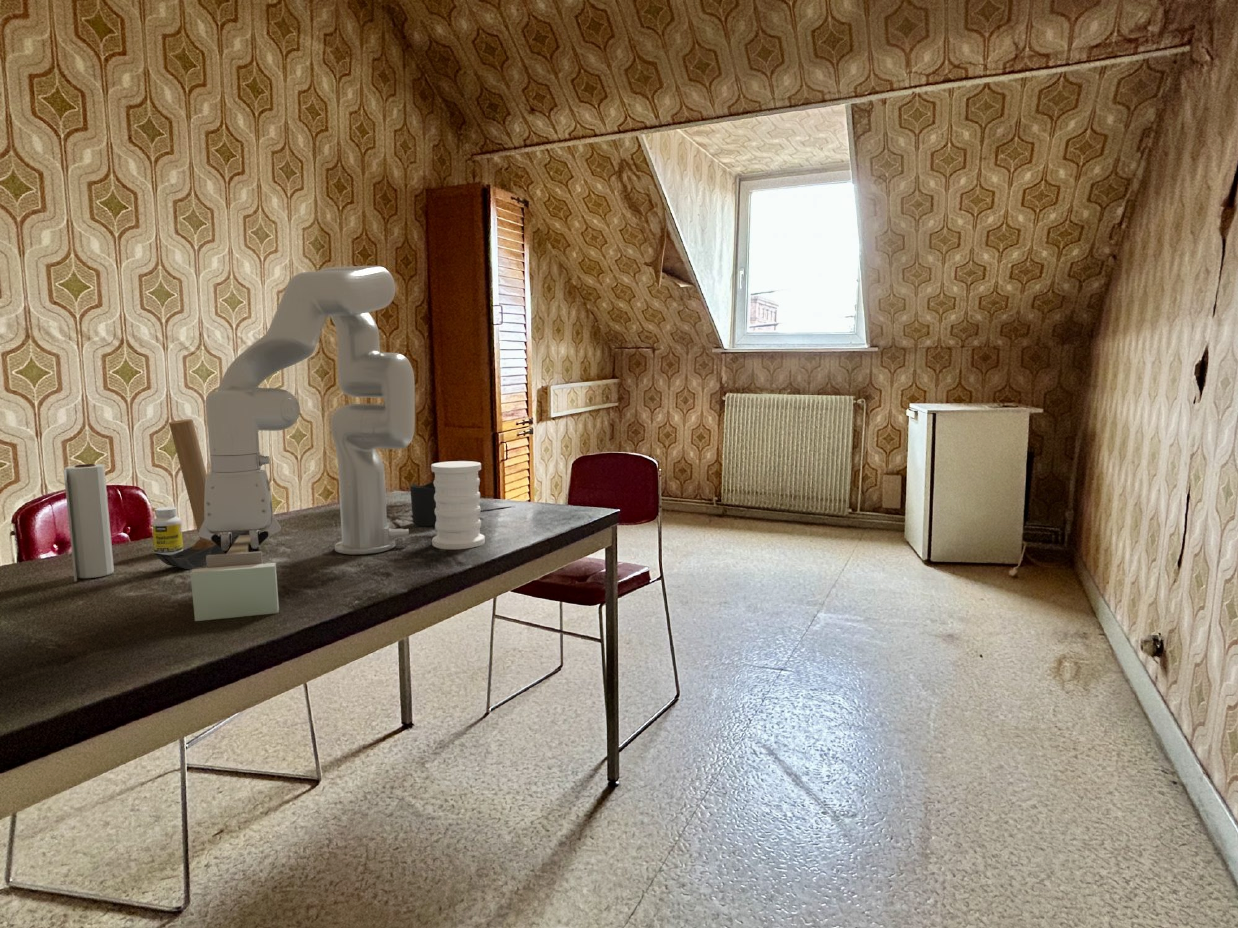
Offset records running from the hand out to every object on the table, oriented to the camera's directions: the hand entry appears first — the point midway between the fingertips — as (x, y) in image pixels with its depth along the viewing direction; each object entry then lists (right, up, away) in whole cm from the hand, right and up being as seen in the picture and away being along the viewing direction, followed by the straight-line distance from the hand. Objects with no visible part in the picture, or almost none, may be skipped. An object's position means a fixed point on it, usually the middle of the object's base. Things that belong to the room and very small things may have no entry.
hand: (243, 569), depth 130 cm
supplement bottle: (-32, -1, +33) cm, 46 cm away
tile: (+3, -6, -7) cm, 10 cm away
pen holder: (+17, +3, +62) cm, 65 cm away
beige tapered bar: (0, 0, 0) cm, 0 cm away
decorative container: (+28, 0, +41) cm, 50 cm away
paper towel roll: (-37, -4, +16) cm, 40 cm away
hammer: (-20, -2, +27) cm, 33 cm away
